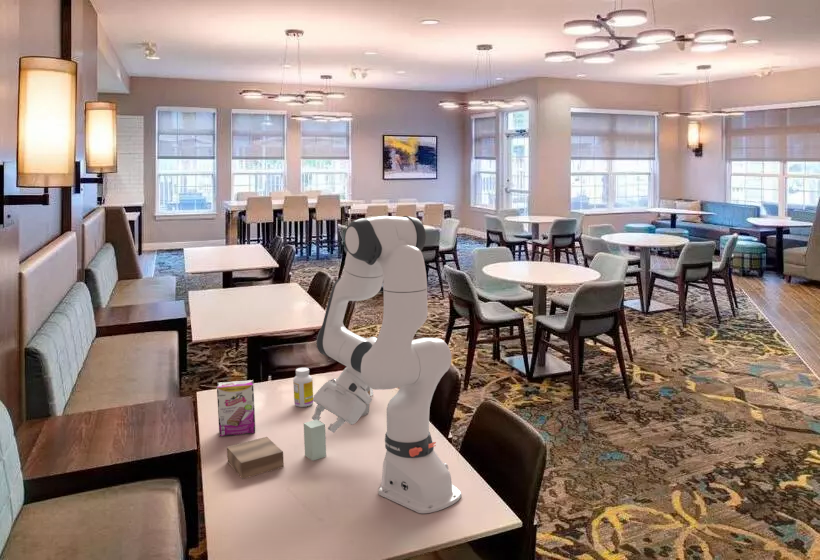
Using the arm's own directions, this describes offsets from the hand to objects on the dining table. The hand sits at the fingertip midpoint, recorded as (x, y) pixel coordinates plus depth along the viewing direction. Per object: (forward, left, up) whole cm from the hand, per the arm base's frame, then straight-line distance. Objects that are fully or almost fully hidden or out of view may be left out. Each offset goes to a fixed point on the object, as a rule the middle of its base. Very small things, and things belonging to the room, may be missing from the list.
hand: (322, 425), depth 186 cm
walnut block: (+6, +19, -9) cm, 22 cm away
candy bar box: (+30, +14, -9) cm, 34 cm away
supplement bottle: (+38, -14, -9) cm, 41 cm away
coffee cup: (+19, -25, -9) cm, 33 cm away
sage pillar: (0, +3, -9) cm, 9 cm away
